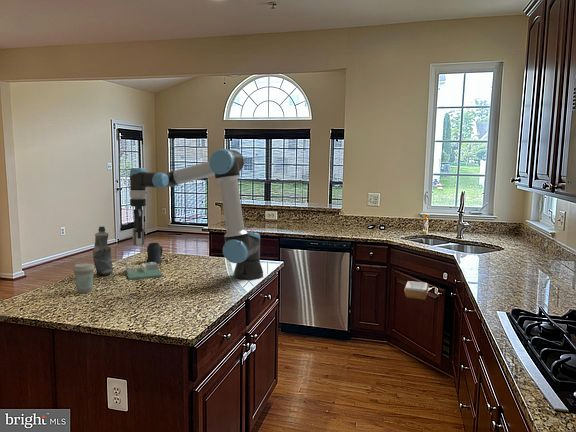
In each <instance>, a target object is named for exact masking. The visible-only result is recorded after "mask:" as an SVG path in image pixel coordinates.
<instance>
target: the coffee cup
mask: <svg viewBox="0 0 576 432" xmlns="http://www.w3.org/2000/svg"><path fill="white" fill-rule="evenodd" d="M72 270H73V272H74V280H75V285H76V291H77V293H78V294H89V293H91V292H92V291H93V285H94V272H95V270H96V267H95V264H94V263H91V262H81V263H76V264H74V266H73V269H72Z"/></svg>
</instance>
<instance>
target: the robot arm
mask: <svg viewBox="0 0 576 432" xmlns="http://www.w3.org/2000/svg"><path fill="white" fill-rule="evenodd" d="M244 165H245V158H244V156H243V154H242V153H240V152H239V151H238V150H234V149H228V148H219V149H217V150H215V151H214V152H212V154H211V155H210V158H209V161H206V162H202V163H198V164H195V165H190V166H187V167H184V168H179V169H176V170H172V171H169V172H167V171H165V172H148V171H146V168H145V167H131V168H130V169H129V185H130V186H129V187H130V188H129V198H130V200H129V205H130V207H134V209H133V228H136V231H135V232H136V245H135V246H140V245H141V244H142V231H143V229H144V228H143V215H144V210H143V209H142V207H146V206H147V205H146V204H147V200H146V197H147V194H148V192H147V188H155V189H165V188H169V187H170V188H173V187H176V186H178V185H182V184H186V183H189V182H194V181H198V180H202V179H206V178H210V177H214V178H215V180H216V181H217V182H218V184H219V189H220V195H221V203H222V208H223V214H224V215H223V216H224V221H225V228H226V233H224V235H223V236H224V244H223V247H222V254H223V257H224V258H225V259H226V260H227V261H228V262H230V263H232V264H235V267H234V269H233V270H234V271H233V278H235V279H237V280H245V281H252V280H258V279H261V278H263V277H264V270H263V268H262V267H263V266H262V263H261V234H260V233H258V232H252V231H251V232H248V231H247V230H246V229H245V221H244V216H243V209H242V205H241V204H242V203H241V198H240V197H241V196H240V188H239V183H238V182H239V181H238V180H239V178H240V177H241V175H240V172H241V171H242V170H243V168H244ZM142 228H143V229H142ZM141 246H142V245H141Z"/></svg>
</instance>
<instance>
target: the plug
mask: <svg viewBox="0 0 576 432" xmlns="http://www.w3.org/2000/svg"><path fill="white" fill-rule="evenodd" d="M142 229H143V231H142V244H141V246H142V245H145V228H143V227H142ZM135 231H136V228H134V227H133V228H132V245H133V246H137V245H136V232H135Z"/></svg>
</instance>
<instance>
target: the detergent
mask: <svg viewBox="0 0 576 432" xmlns="http://www.w3.org/2000/svg"><path fill="white" fill-rule="evenodd" d="M94 236H95V237H94V239H95V240H94V247H93V249H92V257H93V265H94V268H95V271H96V272H95V273H96V275H98V276H107V275H110V274H112V273H113V271H114V267H113V260H112V248H111V246H109V245H108V240H109V232H106V228H105V226H103V225H102V226H99V227H98V232H96V233H95V234H94Z"/></svg>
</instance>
